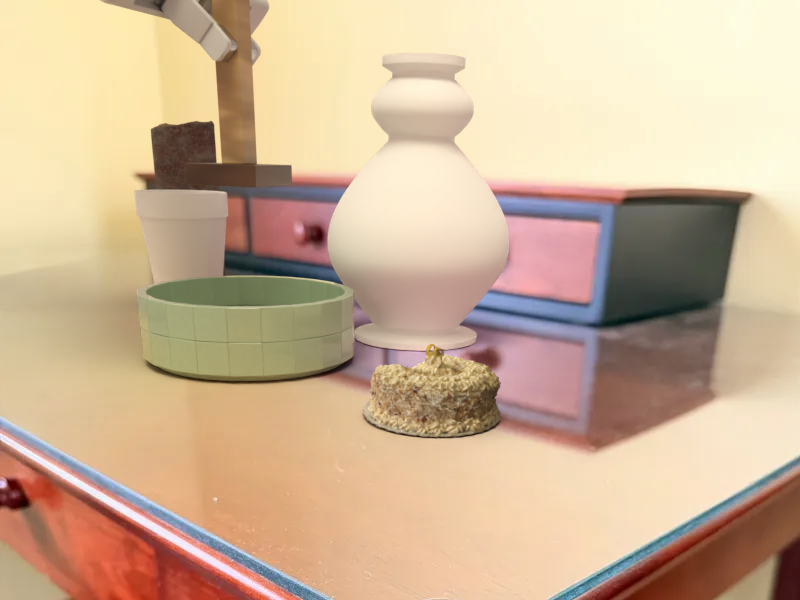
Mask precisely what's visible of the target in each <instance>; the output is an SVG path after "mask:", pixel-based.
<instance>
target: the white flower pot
mask: <svg viewBox="0 0 800 600" xmlns="http://www.w3.org/2000/svg"><path fill="white" fill-rule="evenodd" d="M133 191H134V201H135V210H136V211H135V212H136V216H138V218H139V222H140V227H141V231H142V235H143V240H144V244H145V249H146V253H147V257H148V262H149V266H150V270H151V274H152V279H153V283H158V282H162V281H169V280H176V279H185V278H196V277H210V276H223V269H224V263H225V252H226V251H225V250H226V248H225V247H226V236H227V235H226V232H227V219H228V218H227V217H229V203H228V192H227V191H220V190H219V191H207V190H156V189H137V190H133Z"/></svg>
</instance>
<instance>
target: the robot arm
mask: <svg viewBox="0 0 800 600" xmlns="http://www.w3.org/2000/svg"><path fill="white" fill-rule="evenodd" d="M99 1H101V2H102V3H104V4H107V5H110V6H115V7H120V8H123V9H127V10H131V11H135V12H138V13H142V14H147V15H151V16H154V17H159V18H162V19H166V20H169V21H170V22H171V23H172V25H174V26H175V27H177V28H178V29H179V30H180V31H182V32H183V33H184V34H185V35H187V36H188V37H189V38H190V39H192V40H193V41H194V42H195V43H197V44H199V46H200V47H201V48H202V49H203V51H204V52H205V53H206V54H207V55H208V56H209V57H210V58H211V60H212V61H219V62H229V61H230V59H231V58H232V55H234V54H235V52H236V51H237V48H238V44H237V41H236V40H235V39H234V38H233V37H232V36H231V34H230V33H229V31H228V30H227V29H226V28H225V27H224V26H223V25H219V24H218V23H217V22H216V21H215V20H214V19H213V16H212V0H99ZM249 5H250V27H251V48H252V67H253V66H254V65H255V63H256V62H257V61H258V59H259V57H260V56H261V54H262V50H261V47H260V45H259V44H258V43H257V42H256V40H255V39H254V38H253V37H252V35H253V34H254V33H255V31H256V30H257V28H258V27H259V25H260V24H261V23H262V21H263V20H264V19H265V17H266V16H267V14H268V12H269V10H270V4H269V1H268V0H249Z"/></svg>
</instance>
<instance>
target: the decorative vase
mask: <svg viewBox="0 0 800 600" xmlns="http://www.w3.org/2000/svg"><path fill="white" fill-rule="evenodd" d="M381 59H382V63H381V64H382V67H383V68H384V69H386V70H388V71H390V73H391V75H392V77H391V78H390V79H389V80H387V82H385V83H384V84H383V85H382V86H381V87H379V89H378V90H377V91H376V92H375V93H374V95H373V98H372V100H371V105H370V110H371V111H370V112H371V115H372V118H373V119H374V121H375V123H377V125H378V126H379V127H380V128H381V130H382V131H383V132H385V134H386V135H388V140H387V141H386V142H385V144H384V145H382V147H381V148H380V149H379V150H378V151H377V152H376V153H375V154H374V155H373V156H372V158H370V159H369V161H367V163H366V164H365V165H364V166H363V168H362V169H360V170H359V172H358V173H357V174H356V176H355V177H353V180H352V181H351V182H350V184H349V185H348V187H346V189H345V191H344V193H343V194H342V196H341V197H340V199H339V200H338V203H337V204H336V207H335V208H334V211H333V213H332V216H331V218H330V222H329V224H328V225H329V226H328V231H327V255H328V258H329V261H330V264H331V266H332V268H333V270H334V272H335V274H336V275H337V277H338V278H339V280H340V281H341V284H342V285H345V286H348V287H350V288H351V289H353V290H354V301H355V302H356V303H357V305H358V306H359V308H361V310H362V312H364V314H365V315H366V316H367V317H368V319H369V320H370V321H371V322H369V323H365V324H362V325H359V326H357V327H356V328H354V340H355V341H358V342H360V343H361V344H364V345H367V346H372V347H377V348H383V349H387V350H388V349H389V350H399V351H411V352H412V351H413V352H415V351H416V352H417V351H418V352H426V348H427V346H428V345H430V344H434V345H435V346H436V347H438V348H441V349H444V351H447V350H449V351H450V350H456V349H461V348H465V347H469V346H472V345H474V344H475V343H476V342H477V337H478V335H477V331H475V330H474V329H471V328H470V327H467V326H463V325H460V324H461V323H462V322H464V320H465V319H466V318H467V317H468V316H469V315H470V314H471V312H472V311H474V309H475V308H476V307H477V305H479V303H480V302H481V301H482V300H483V299H484V297H485V296H486V295H487V294H488V292H489V291H490V290H492V287H493V286H494V285H495V284H496V282H497V281H498V279H499V278H500V276H501V275H502V273H503V271H504V269H505V268H506V265H507V262H508V259H509V252H510V234H509V227H508V223H507V220H506V216H505V214H504V212H503V209H502V207H501V205H500V203H499V200H498V199H497V198H496V196H495V194H494V192H493V190H492V189H491V187H490V186H489V184H488V183H487V182H486V180H485V179H484V177H483V175H482V174H481V173H480V172H479V170H478V169H477V167H476V166H474V164H473V163H472V162H471V160H470V159H469V158H468V157H467V156H466V153H464V152H463V151H462V149H461V148H460V147H459V146H458V145H457V144H456V142H455V137H457V136H458V135H460V134H461V132H463V130H464V129H465V128H466V127H467V126H468V125H469V124H470V122H471V121H472V119H473V117H474V111H475V106H474V102H473V99H472V97H471V95H470V93H468V91H467V90H466V89H465V88H464V87H463V85H461V84H460V83H459V82H458V81H457V80H456V79H455V75H456V74H457V73H459V72H461V71H463V70H465V68H466V57H464V56H462V55H455V54H446V53H433V52H399V53H398V52H397V53H387V54H384V55H382V58H381ZM433 350H434V346H432V347H431V349H430V351H429V352H432V351H433Z"/></svg>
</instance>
